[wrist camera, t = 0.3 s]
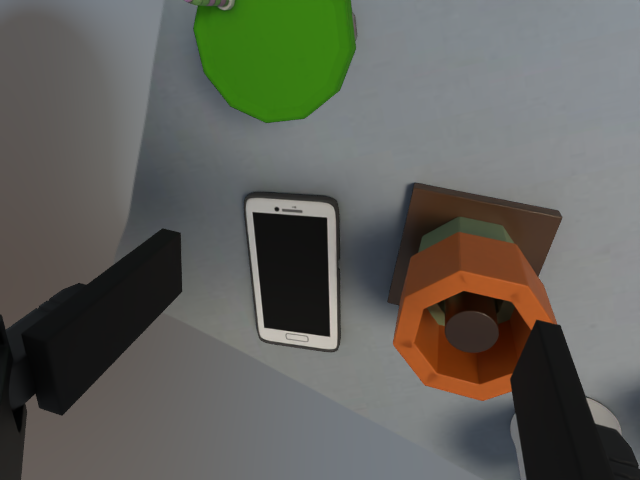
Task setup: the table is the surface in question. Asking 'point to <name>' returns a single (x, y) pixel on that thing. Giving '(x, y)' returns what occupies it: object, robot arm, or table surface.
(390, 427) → the table surface
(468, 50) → the table surface
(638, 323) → the table surface
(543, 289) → the orange ring
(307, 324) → the cell phone
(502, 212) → the peg stand
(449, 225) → the sage ring
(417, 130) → the table surface
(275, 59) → the cup
